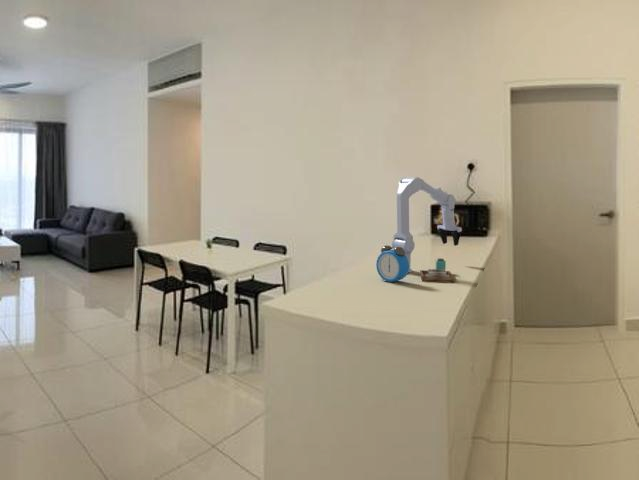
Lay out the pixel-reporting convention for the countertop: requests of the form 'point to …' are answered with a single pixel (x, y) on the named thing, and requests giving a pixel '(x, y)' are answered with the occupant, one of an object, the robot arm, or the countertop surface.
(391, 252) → the alarm clock
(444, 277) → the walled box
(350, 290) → the countertop surface
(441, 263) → the connector
